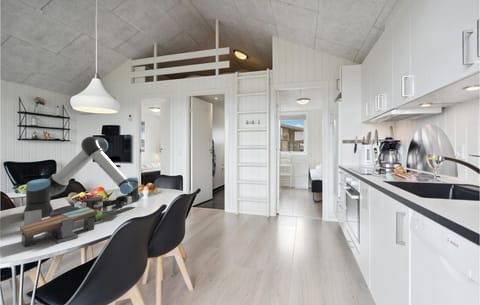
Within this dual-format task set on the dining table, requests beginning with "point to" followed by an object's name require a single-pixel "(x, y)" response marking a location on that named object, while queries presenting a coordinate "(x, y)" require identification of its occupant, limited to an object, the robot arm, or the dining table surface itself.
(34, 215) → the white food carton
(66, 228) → the pivot stand
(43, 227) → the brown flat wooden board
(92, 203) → the coffee can
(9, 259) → the dining table surface
